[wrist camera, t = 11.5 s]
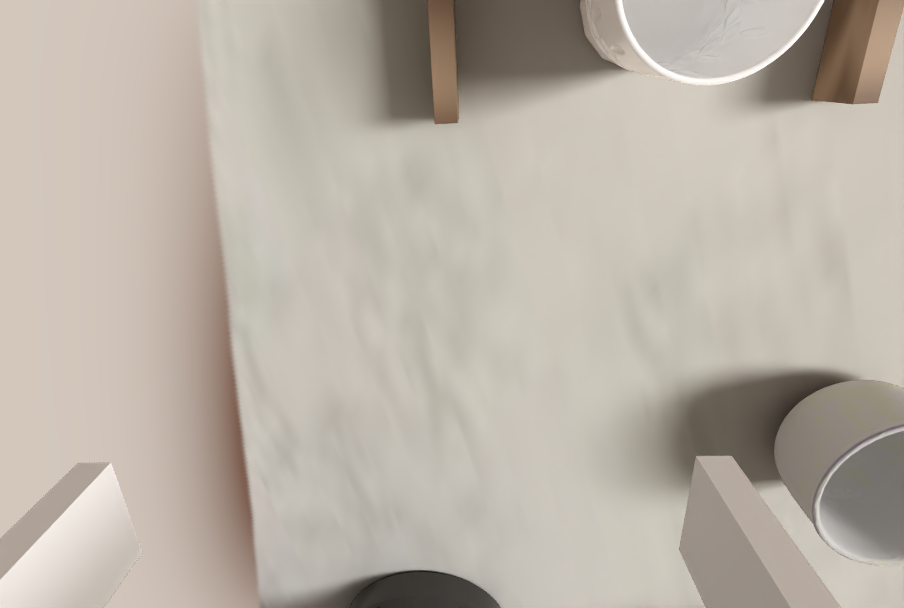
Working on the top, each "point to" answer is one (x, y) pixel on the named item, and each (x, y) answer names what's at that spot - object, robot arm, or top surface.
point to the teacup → (849, 467)
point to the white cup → (695, 35)
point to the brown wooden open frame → (839, 76)
